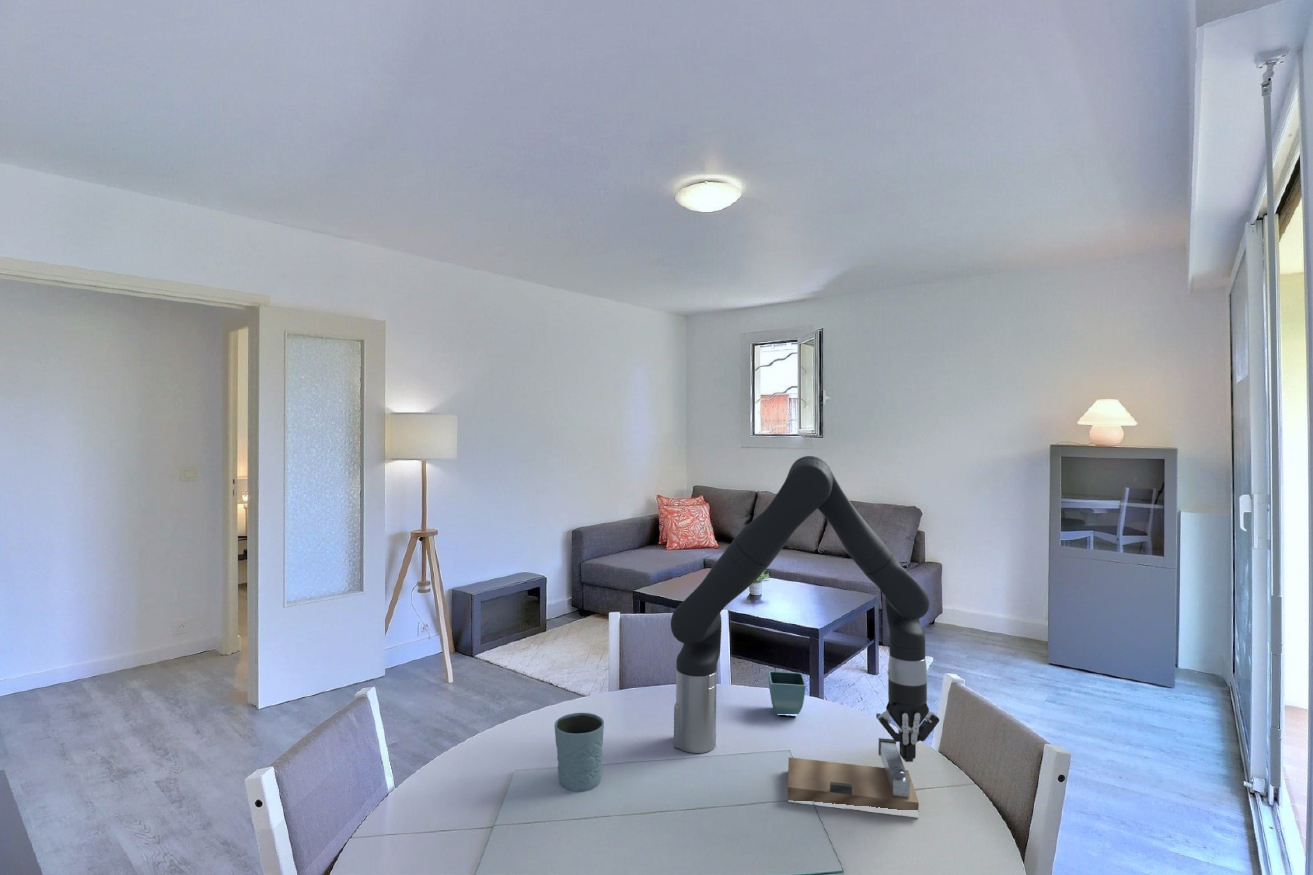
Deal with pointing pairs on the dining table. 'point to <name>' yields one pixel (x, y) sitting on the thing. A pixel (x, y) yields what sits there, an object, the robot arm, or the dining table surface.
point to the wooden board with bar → (844, 785)
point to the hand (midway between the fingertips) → (907, 760)
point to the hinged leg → (894, 768)
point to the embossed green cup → (579, 751)
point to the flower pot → (787, 692)
